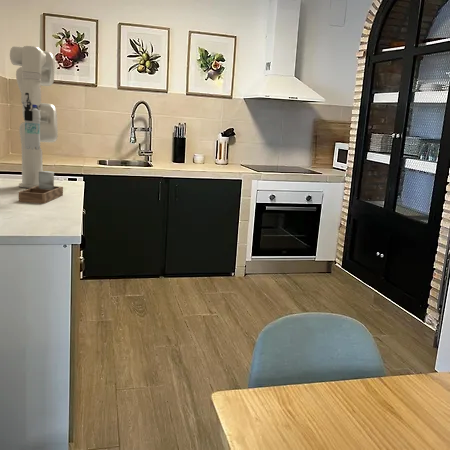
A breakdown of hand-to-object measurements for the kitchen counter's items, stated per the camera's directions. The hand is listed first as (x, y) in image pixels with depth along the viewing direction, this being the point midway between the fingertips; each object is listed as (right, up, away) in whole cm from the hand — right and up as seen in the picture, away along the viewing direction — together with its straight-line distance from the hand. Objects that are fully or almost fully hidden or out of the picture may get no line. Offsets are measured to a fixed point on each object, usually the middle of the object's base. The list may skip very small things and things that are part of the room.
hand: (32, 120), depth 214 cm
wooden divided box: (+2, -33, +7) cm, 34 cm away
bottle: (-1, -12, +2) cm, 12 cm away
